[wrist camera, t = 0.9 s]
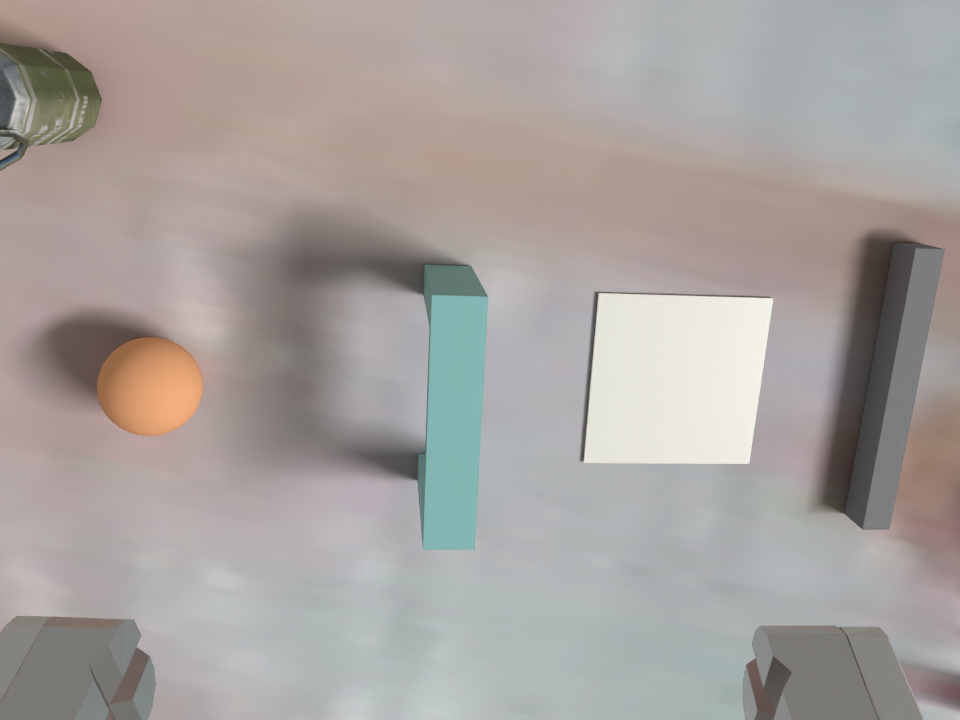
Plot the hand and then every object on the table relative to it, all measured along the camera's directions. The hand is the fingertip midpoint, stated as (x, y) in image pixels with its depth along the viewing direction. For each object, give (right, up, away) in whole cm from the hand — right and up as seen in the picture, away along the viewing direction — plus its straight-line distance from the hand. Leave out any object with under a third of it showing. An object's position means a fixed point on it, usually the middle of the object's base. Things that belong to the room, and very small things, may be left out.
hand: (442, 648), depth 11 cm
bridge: (-2, +3, +45) cm, 45 cm away
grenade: (-24, +19, +39) cm, 49 cm away
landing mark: (+14, +2, +47) cm, 49 cm away
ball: (-20, +2, +40) cm, 45 cm away
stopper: (+29, +2, +49) cm, 57 cm away
